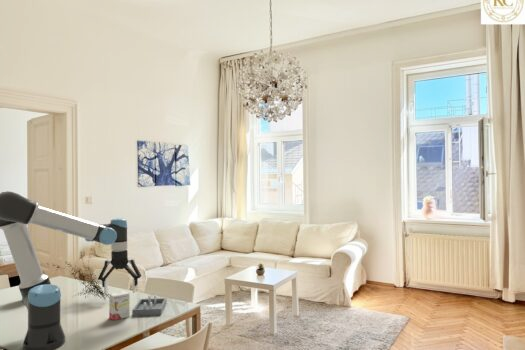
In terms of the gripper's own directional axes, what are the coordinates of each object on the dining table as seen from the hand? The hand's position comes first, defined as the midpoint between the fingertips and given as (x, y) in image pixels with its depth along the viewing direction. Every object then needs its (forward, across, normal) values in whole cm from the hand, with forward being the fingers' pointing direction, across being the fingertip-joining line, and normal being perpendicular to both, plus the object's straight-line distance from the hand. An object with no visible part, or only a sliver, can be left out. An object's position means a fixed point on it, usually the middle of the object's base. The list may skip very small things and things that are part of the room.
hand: (120, 292), depth 191 cm
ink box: (+12, 0, 0) cm, 12 cm away
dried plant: (+12, +30, -30) cm, 44 cm away
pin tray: (+12, -12, -10) cm, 20 cm away
